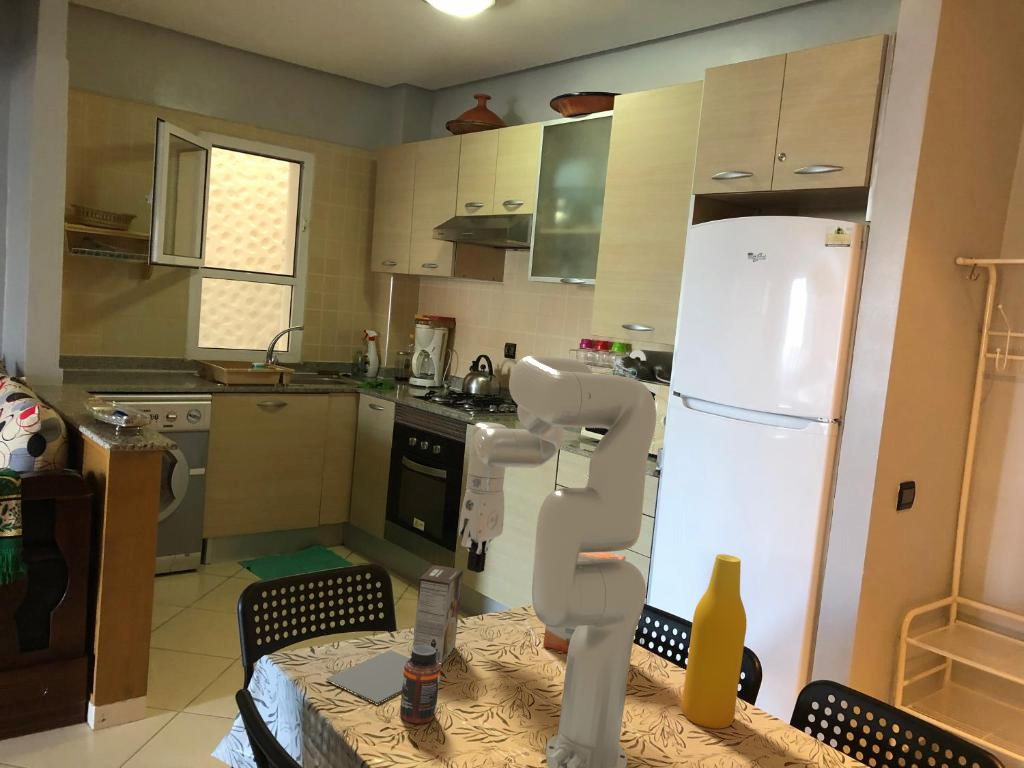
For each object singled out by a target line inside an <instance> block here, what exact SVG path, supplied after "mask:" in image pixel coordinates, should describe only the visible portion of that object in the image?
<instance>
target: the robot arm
mask: <svg viewBox="0 0 1024 768" xmlns="http://www.w3.org/2000/svg"><path fill="white" fill-rule="evenodd" d="M508 388H509V393H510V397H511V398H512V400H513V401H514V402H515V404H516V405H517V409H516V411H517V417H518V419H519V422H520V424H521V426H523V428H524V429H523V428H522V429H520V428H508V427H507V426H506V425H504V424H501V423H498V422H497V423H496V422H481V421H480V422H477V423H475V424H474V425H473V428H472V432H471V439H470V440H471V441H470V447H469V448H470V449H469V459H468V467H467V468H468V469H467V476H466V477H467V478H466V485H465V486H466V487H465V489H466V490H465V494H464V498H463V502H462V506H461V512H460V519H459V527H458V529H459V530H458V533H459V534H458V535H459V537H460V538H462V540H461V547H466V548H467V551H468V557H467V566H466V569H467V570H468V571H471V572H475V573H478V574H480V573H482V572H484V571H485V565H486V556H487V552H488V550H489V546H490V543H491V542H492V541H493V540H494V539H496V538H498V537H499V536H501V535H502V534H503V529H504V521H505V520H504V519H505V493H504V484H505V483H504V482H505V473H506V468H522V469H524V468H525V469H526V468H527V469H528V468H529V469H532V468H533V469H534V468H538V467H542V466H543V465H545V464H546V463H548V462H549V461H550V460H551V459H552V458H554V457H555V456H556V455H557V453H559V451H560V449H561V446H562V442H563V438H564V437H563V436H564V428H568V427H569V428H570V427H571V428H587V429H592V428H593V429H595V428H596V429H606V430H608V431H607V432H606V433H605V434H603V436H602V437H601V439H600V440H599V442H598V443H597V444H596V447H595V448H594V449H593V451H592V453H591V456H590V459H589V466H588V467H589V470H588V480H587V483H586V486H585V487H562V488H558V489H555V490H553V491H551V492H550V493H549V494H547V496H546V497H545V499H543V501H542V504H541V507H540V509H539V512H538V516H537V523H536V531H535V532H536V533H535V546H534V557H533V558H534V559H533V570H532V579H531V582H532V583H531V600H532V608H533V611H534V613H535V615H536V618H538V620H539V621H540V622H541V623H542V624H543V625H545V626H546V625H547V626H550V627H573V626H577V628H576V629H575V631H574V633H573V635H572V638H571V641H570V644H569V649H568V652H567V657H566V664H565V665H566V666H565V673H564V681H563V688H562V689H563V690H562V698H561V706H560V712H559V723H558V729H557V730H558V731H557V734H555V735H553V736H552V737H550V738H549V739H548V740H547V743H546V746H545V748H546V749H545V756H546V766H547V767H548V768H628V763H629V761H628V755H627V754H626V752H625V750H624V748H622V747H621V746H620V741H621V736H622V735H621V734H622V727H623V717H624V710H625V703H626V697H627V688H628V681H629V680H628V679H629V672H630V664H631V659H632V653H633V652H632V651H633V645H634V639H635V635H636V632H637V631H636V630H637V628H638V625H639V621H640V618H641V616H642V613H643V609H644V606H645V601H646V595H647V588H646V581H645V578H644V576H643V574H642V571H641V570H640V569H639V568H638V567H637V566H636V565H635V564H633V563H632V562H629V561H628V560H626V559H625V560H621V559H612V558H603V559H585V560H577V559H578V556H579V553H590V552H606V553H610V552H621V551H626V550H629V549H632V547H634V546H635V545H636V543H637V542H638V540H639V538H640V534H641V528H642V520H643V508H644V498H645V497H644V495H645V485H646V473H647V472H646V471H647V462H648V458H649V453H650V449H651V445H652V442H653V440H654V439H653V438H654V435H655V430H656V425H657V407H656V404H655V400H654V397H653V395H652V392H651V391H650V389H649V388H648V387H647V386H646V384H644V383H643V382H641V381H639V380H637V379H634V378H631V377H628V376H622V375H617V374H606V373H593V370H592V369H591V368H590V367H589V366H588V365H587V364H586V363H584V362H582V361H580V360H577V359H573V358H566V357H553V356H543V355H527V356H525V357H523V358H521V359H520V360H519V361H517V362H516V364H515V365H514V367H513V368H512V370H511V373H510V375H509V380H508Z"/></svg>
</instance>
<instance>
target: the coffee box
mask: <svg viewBox="0 0 1024 768" xmlns="http://www.w3.org/2000/svg"><path fill="white" fill-rule="evenodd" d="M463 573H464V569H462V568H461V569H460V568H455V567H454V568H453V567H448V566H443V565H437V564H436V565H434V564H433V565H432V566H431V567H430V568H429V569H428V570H427V571H426V572H425V573H424V574H423V575H421V576H420V577H419V582H418V594H417V602H416V603H417V604H416V612H415V613H416V614H415V620H414V621H415V623H414V633H413V642H412V648H413V647H415V646H418V645H428V646H432V647H433V648H435V649H436V658H435V659H436V661H438V663H443V664H444V662H445V661H446V660H447V659H448V657H449V656H450V654H451V653H452V651H453V650H454V649H453V648H456V643H457V639H456V638H457V631H458V623H459V613H460V612H459V611H460V604H461V603H460V602H461V593H462V583H463ZM450 652H451V653H450ZM448 655H449V656H448ZM445 659H446V660H445Z"/></svg>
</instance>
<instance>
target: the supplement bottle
mask: <svg viewBox="0 0 1024 768" xmlns="http://www.w3.org/2000/svg"><path fill="white" fill-rule="evenodd" d="M409 658H410V659H409V660H407V661H406V663H405V666H404V674H403V685H402V693H401V696H400V697H401V698H400V705H399V706H400V707H399V715H400V717H401V718H402V719H403V720H404V721H406V722H408V723H411V724H418V725H420V724H421V725H422V724H425V723H426V724H427V723H430V722H431V721H433V720H434V719H435V717H436V715H437V709H438V708H437V707H438V699H439V697H438V696H439V689H440V688H439V687H440V677H441V664H439V663H438V661H436V659H435V658H436V649H435V648H433V647H432V646H428V645H418V646H415V647H413V646H412V649H411V655H410V657H409Z"/></svg>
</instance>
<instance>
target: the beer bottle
mask: <svg viewBox="0 0 1024 768" xmlns="http://www.w3.org/2000/svg"><path fill="white" fill-rule="evenodd" d="M746 633H747V614H746V610H745V607H744V604H743V601H742V598H741V559H740V558H739V557H736V556H734V555H730V554H724V553H723V554H722V553H721V554H716V555H715V560H714V563H713V568H712V571H711V576H710V579H709V583H708V585H707V589H706V591H705V592H704V594H702V597H701V598H700V599H699V600H698V603H697V604H696V606H695V609H694V613H693V618H692V625H691V634H690V638H689V639H690V641H689V647H688V655H687V664H686V670H685V679H684V686H683V692H682V696H681V697H682V698H681V706H680V707H681V712H682V714H683V716H684V717H685V718H686V719H688V720H689V721H690V722H692V723H694V724H695V725H698V726H701V727H705V728H709V729H714V730H715V729H716V730H717V729H724V728H728V727H729V726H731V724H733V722H734V719H735V715H736V705H737V697H738V691H739V683H740V676H741V667H742V662H743V654H744V646H745V639H746Z"/></svg>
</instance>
